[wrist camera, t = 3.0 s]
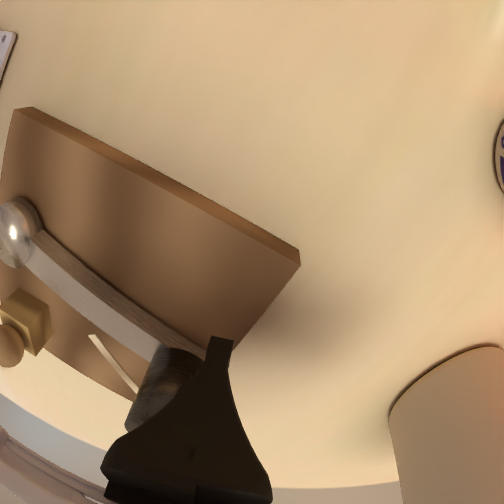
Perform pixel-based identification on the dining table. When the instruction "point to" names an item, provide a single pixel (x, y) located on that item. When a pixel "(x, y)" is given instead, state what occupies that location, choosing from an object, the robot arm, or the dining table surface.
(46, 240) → the press arm
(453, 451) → the cylinder vase
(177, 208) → the press board
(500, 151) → the energy drink
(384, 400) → the dining table surface
